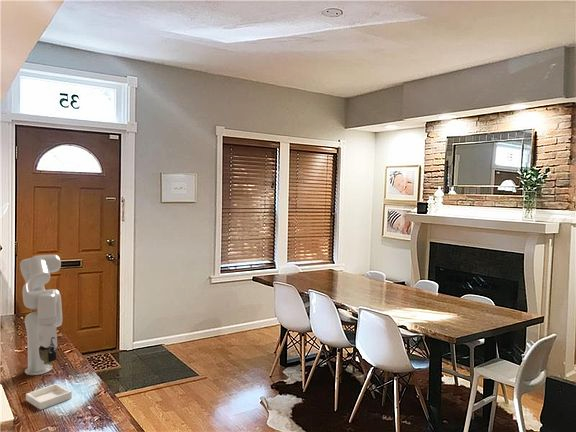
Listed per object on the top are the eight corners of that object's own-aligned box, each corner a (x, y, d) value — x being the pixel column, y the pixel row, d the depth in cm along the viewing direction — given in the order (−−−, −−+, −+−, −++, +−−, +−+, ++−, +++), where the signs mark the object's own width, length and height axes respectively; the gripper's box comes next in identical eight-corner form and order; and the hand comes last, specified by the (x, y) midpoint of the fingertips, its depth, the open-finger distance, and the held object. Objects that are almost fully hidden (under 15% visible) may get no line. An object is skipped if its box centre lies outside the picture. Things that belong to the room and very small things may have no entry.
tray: (26, 400, 211) (25, 393, 210) (56, 389, 222) (56, 383, 221) (40, 409, 202) (40, 402, 202) (71, 398, 213) (71, 391, 213)
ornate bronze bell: (40, 361, 213) (39, 344, 212) (57, 359, 215) (57, 343, 215) (37, 367, 206) (37, 350, 205) (56, 365, 208) (55, 348, 208)
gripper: (29, 319, 212) (30, 356, 213) (47, 326, 201) (48, 366, 202) (46, 315, 218) (47, 352, 219) (65, 322, 207) (65, 361, 208)
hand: (48, 358), depth 211 cm, fingers closed on ornate bronze bell, 7 cm apart
